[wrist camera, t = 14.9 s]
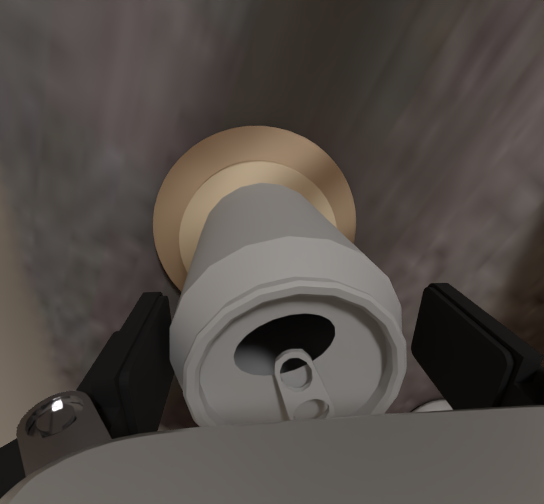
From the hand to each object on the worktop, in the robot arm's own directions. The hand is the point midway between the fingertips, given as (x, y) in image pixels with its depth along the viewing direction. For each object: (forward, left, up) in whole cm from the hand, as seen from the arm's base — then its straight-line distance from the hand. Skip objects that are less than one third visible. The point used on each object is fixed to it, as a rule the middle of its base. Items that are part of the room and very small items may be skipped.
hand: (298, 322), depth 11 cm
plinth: (0, +1, -12) cm, 12 cm away
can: (0, 0, -9) cm, 9 cm away
